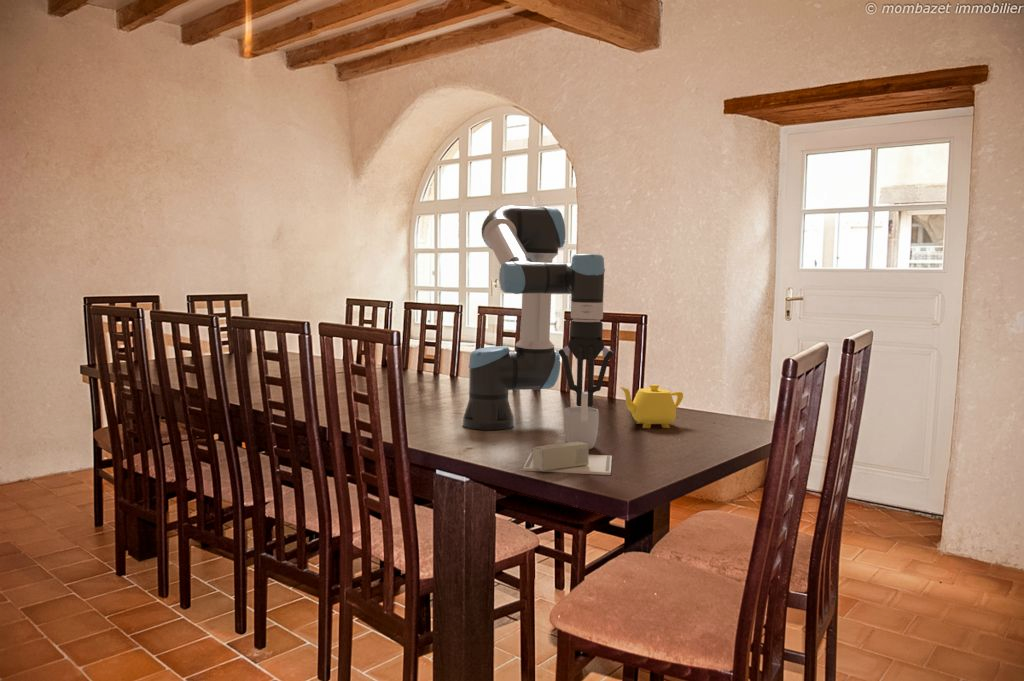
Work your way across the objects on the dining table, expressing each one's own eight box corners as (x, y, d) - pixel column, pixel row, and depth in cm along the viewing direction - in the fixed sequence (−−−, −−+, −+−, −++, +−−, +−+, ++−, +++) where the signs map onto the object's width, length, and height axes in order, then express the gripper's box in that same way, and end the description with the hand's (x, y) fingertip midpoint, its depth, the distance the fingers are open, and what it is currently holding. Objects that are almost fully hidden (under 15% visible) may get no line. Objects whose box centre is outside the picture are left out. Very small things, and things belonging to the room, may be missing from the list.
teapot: (612, 421, 231) (613, 381, 230) (674, 420, 233) (675, 381, 232) (624, 430, 217) (626, 388, 216) (690, 429, 220) (691, 387, 219)
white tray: (531, 454, 187) (531, 451, 187) (611, 458, 184) (611, 455, 184) (522, 470, 171) (522, 467, 171) (610, 475, 168) (610, 472, 168)
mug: (603, 450, 192) (604, 412, 191) (570, 452, 189) (571, 413, 189) (585, 439, 204) (586, 403, 203) (554, 441, 202) (555, 404, 201)
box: (578, 441, 177) (532, 445, 171) (589, 444, 173) (542, 448, 167) (578, 463, 177) (532, 468, 171) (589, 466, 173) (542, 471, 167)
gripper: (557, 320, 171) (555, 421, 173) (614, 322, 169) (611, 424, 171) (560, 318, 178) (558, 415, 181) (614, 320, 177) (612, 418, 179)
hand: (584, 419), depth 176 cm, fingers closed
